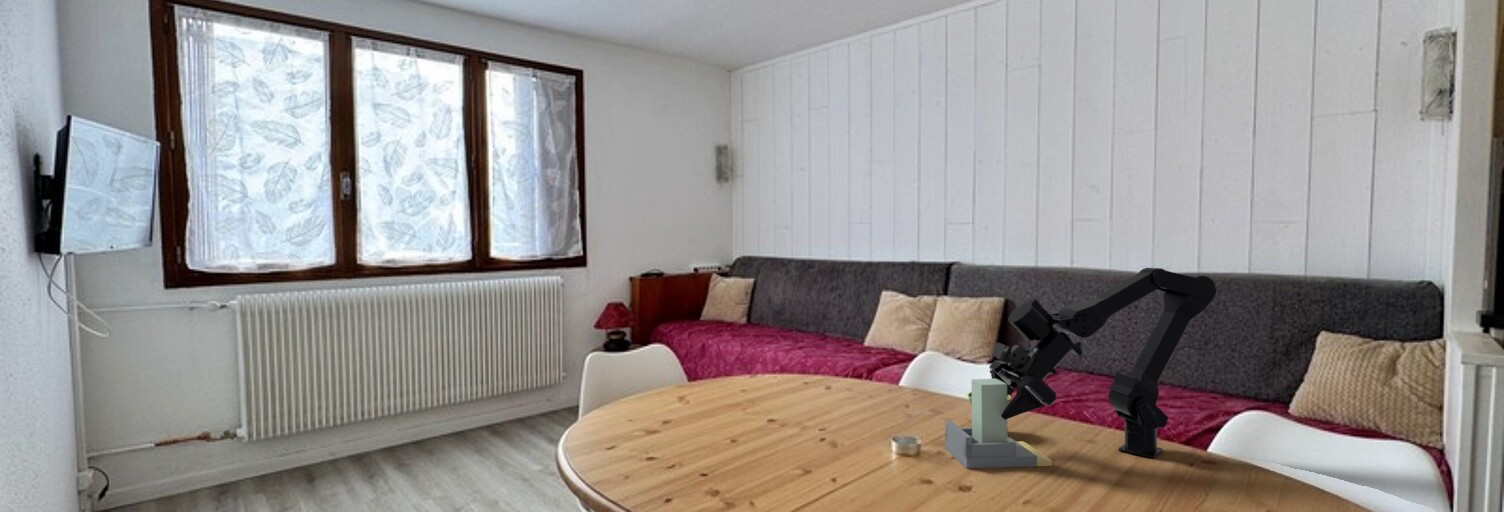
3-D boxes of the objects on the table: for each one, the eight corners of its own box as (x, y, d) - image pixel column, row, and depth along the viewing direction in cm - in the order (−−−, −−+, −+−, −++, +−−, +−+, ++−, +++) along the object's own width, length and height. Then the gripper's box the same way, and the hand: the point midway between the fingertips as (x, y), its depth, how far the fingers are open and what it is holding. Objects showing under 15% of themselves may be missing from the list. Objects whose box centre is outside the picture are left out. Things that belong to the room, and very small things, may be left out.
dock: (1023, 446, 137) (1023, 418, 137) (1052, 465, 125) (1051, 435, 125) (945, 448, 137) (945, 420, 136) (966, 468, 125) (966, 438, 124)
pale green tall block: (997, 442, 134) (997, 378, 134) (1010, 451, 128) (1009, 384, 128) (969, 443, 134) (968, 378, 133) (980, 452, 128) (980, 385, 127)
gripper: (997, 323, 140) (948, 375, 140) (1039, 336, 121) (983, 396, 121) (1033, 357, 140) (984, 409, 140) (1080, 375, 122) (1025, 435, 121)
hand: (992, 411), depth 131 cm, fingers open, 9 cm apart
